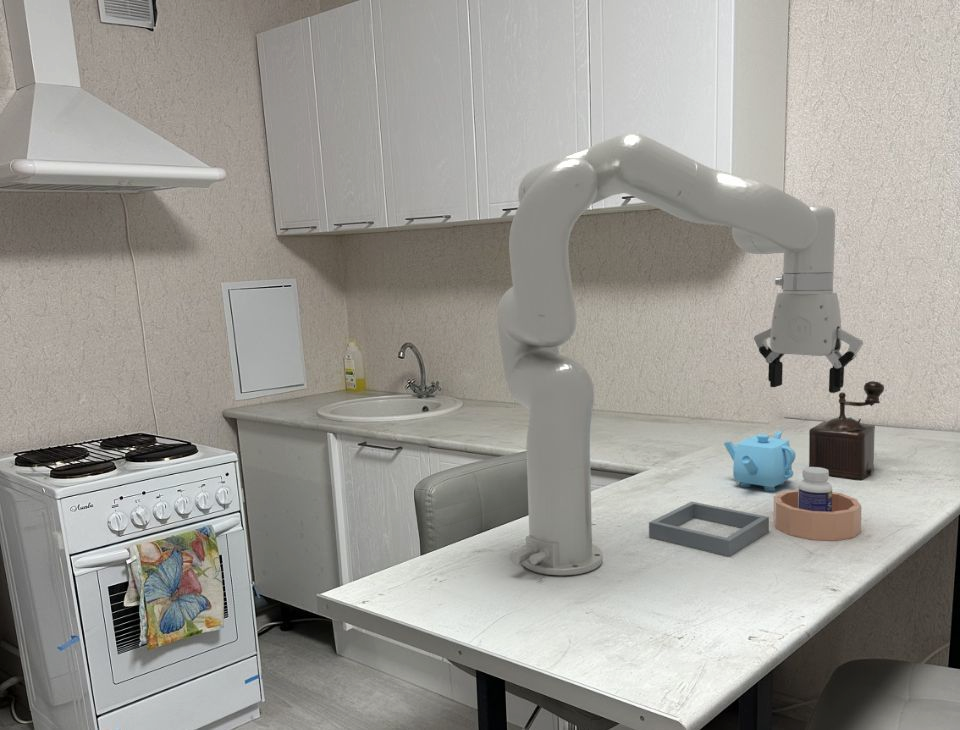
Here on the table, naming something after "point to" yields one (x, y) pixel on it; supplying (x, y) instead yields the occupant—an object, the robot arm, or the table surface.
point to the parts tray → (726, 546)
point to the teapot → (762, 461)
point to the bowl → (817, 518)
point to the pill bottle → (815, 490)
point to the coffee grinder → (845, 440)
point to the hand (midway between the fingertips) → (804, 388)
